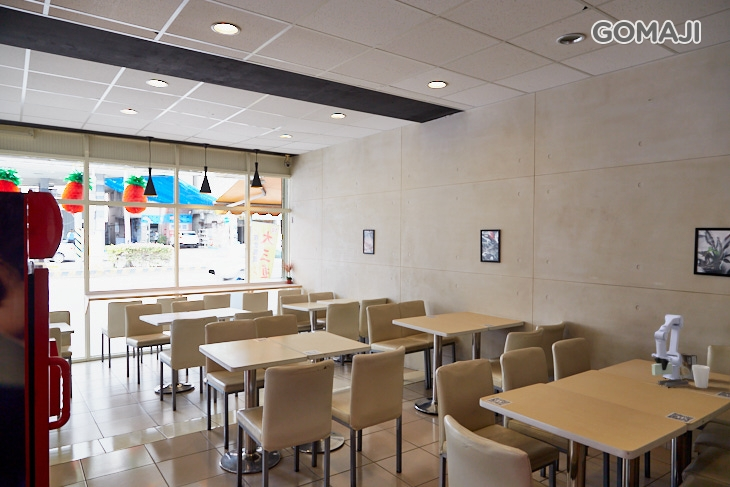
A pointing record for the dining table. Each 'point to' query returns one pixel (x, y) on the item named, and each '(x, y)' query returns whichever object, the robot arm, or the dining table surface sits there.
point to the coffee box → (687, 365)
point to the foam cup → (701, 375)
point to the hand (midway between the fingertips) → (662, 369)
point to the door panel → (658, 369)
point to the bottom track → (673, 383)
